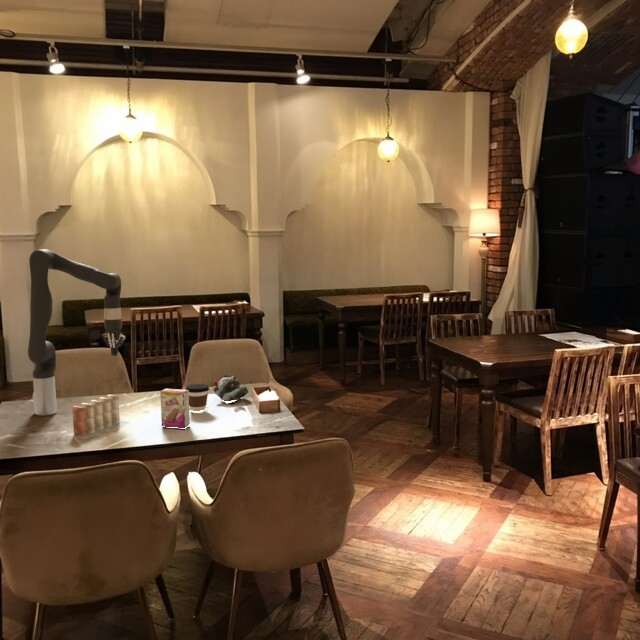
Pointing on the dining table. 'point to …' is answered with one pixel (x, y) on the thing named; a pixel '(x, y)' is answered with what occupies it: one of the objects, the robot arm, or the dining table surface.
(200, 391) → the coffee cup
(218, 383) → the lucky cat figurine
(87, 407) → the domino
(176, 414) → the candy bar box
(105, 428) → the domino board
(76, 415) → the domino
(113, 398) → the domino
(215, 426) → the dining table surface
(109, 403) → the domino
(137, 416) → the dining table surface
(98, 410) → the domino
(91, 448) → the dining table surface
